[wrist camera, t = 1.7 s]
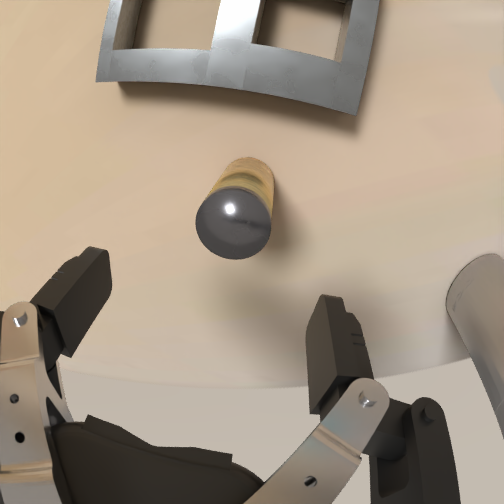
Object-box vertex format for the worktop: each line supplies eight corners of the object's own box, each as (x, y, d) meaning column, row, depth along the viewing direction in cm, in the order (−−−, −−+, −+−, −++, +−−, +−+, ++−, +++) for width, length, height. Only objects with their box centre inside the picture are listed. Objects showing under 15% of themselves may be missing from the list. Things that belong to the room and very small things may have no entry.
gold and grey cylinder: (278, 163, 21) (278, 199, 14) (268, 211, 23) (262, 265, 16) (226, 153, 21) (199, 184, 14) (219, 201, 23) (192, 251, 16)
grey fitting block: (372, -20, 13) (384, -33, 10) (346, 113, 19) (356, 116, 16) (143, -43, 12) (127, -55, 10) (115, 81, 19) (95, 82, 16)
